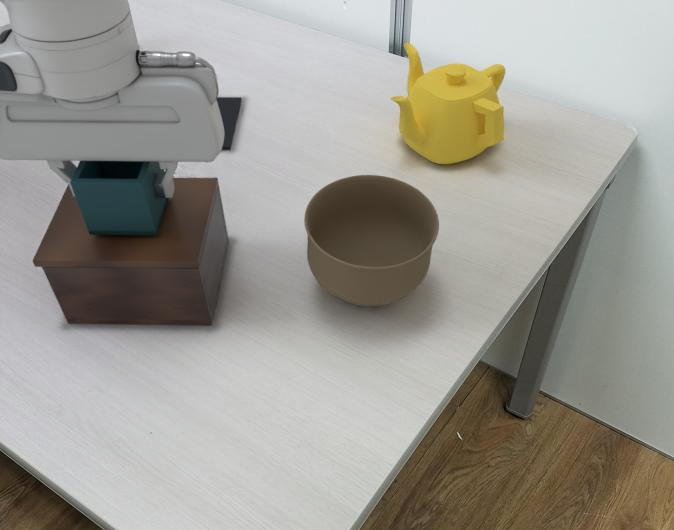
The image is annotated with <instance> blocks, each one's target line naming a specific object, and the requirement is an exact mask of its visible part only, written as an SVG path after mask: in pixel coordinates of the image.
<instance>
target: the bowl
mask: <svg viewBox="0 0 674 530" xmlns="http://www.w3.org/2000/svg"><path fill="white" fill-rule="evenodd" d="M303 222H304V228H305V231H306V235H307V246H306V255H307V264H308V267H309V270H310V272H311V274H312V276H313V277H314V279H315V280H316V281H317V283H318V284H319V285H320V286H321V287H322V288H323V289H324V290H325V291H326V292H327V293H329V294H330V295H332V296H334V297H335V298H337V299H339V300H341V301H343V302H346V303H349V304H352V305H356V306H363V307H376V306H377V307H378V306H383V305H389V304H391V303H395V302H397V301H399V300H401V299H403V298H405V297H407V296H408V295H410V294H411V293H413V292H414V291H415V290H416V289H417V288H418V287H419V286H420V285H421V284H422V283H423V281H424V280H425V278H426V276H427V274H428V273H429V268H430V264H431V260H432V259H431V258H432V251H433V246H434V244H435V242H436V240H437V238H438V235H439V231H440V220H439V214H438V212H437V210H436V208H435V205H434V203H432V201H431V200H430V199H429V198H428V197H427V196H426V195H425V193H423V192H422V191H420V190H419V189H418V188H416V187H415V186H413V185H411V184H409V183H408V182H405V181H403V180H400V179H397V178H393V177H390V176H385V175H378V174H360V175H359V174H358V175H351V176H347V177H343V178H340V179H336V180H334V181H333V182H330V183H328V184H327V185H325V186H324V187H322V188H321V189H319V190H317V192H316V193H315V194H314V195H313V196H312V198H311V199H310V201H309V202H308V204H307V206H306V209H305V212H304V219H303Z"/></svg>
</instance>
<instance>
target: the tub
mask: <svg viewBox="0 0 674 530" xmlns="http://www.w3.org/2000/svg"><path fill="white" fill-rule="evenodd" d="M76 167H77V169H76V171H75V173H74V175H73V177H72V179H71V181H70V184H71V186H72V189H73V192H74V194H75V197H76V200H77V202H78V205H79V208H80V210H81V213H82V216H83V219H84V221H85V224H86V227H87V229H88V232H89V234H90V235H157V233H158V230H159V227H160V224H161V221H162V217H163V214H164V211H165V208H166V204H167V201H168V198H157V197H156V194H155V191H154V187H153V182H154V179H155V176H156V173H165V170H162V169H160V165H159V162H153V161H78V164H77V166H76Z"/></svg>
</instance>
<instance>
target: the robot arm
mask: <svg viewBox="0 0 674 530" xmlns="http://www.w3.org/2000/svg"><path fill="white" fill-rule="evenodd" d="M0 2H1V4H3V6H4V7H5V9H6V12H7V16H8V20H9V23H7V24H4V25H1V26H0V159H2V160H3V161H46V162H47V164H48V168H49V170H51V171H52V172H53V173H54V174H56V175H57V176H58V177H59V178H60V179H61V180H62V181H64V182H65V183H66V184H67V185H68V184H69V186H70V189H71V192H72V194H73V196H74V197H75V194H74V192H73V189H72V186H71V184H70V181H71V179H72V177H73V175H74V173H75V171H76V169H77V166H76V165H75V164H74V163H73V162H74V161H75V162H76V161H77V162H80V161H153V162H159V165H160V169H162V170H164V171H165V173H156V176H155V179H154V182H153V187H154V191H155V194H156V197H157V198H172V197H173V194H174V181H173V178H174V175H175V173H176V170H177V167H178V165H179V163H212V162H214V161H215V160H216V159H217V158H218V156H219V155H220V153H221V152H222V146H223V142H224V135H225V133H224V126H223V121H222V117H221V113H220V110H219V106H218V103H217V100H216V99H217V97H219V93H220V92H219V83H218V78H217V76H218V75H217V73H216V70H215V68H214V66H213V65H212V64H211V63H209V61H207V60H206V59H204V58H201V57H199V56H196V54H195V53H194V52H192V51H184V50H183V51H176V52H167V51H159V50H140V46H139V41H138V37H137V32H136V29H135V23H134V21H133V16H132V11H131V8H130V3H129V0H0Z"/></svg>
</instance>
